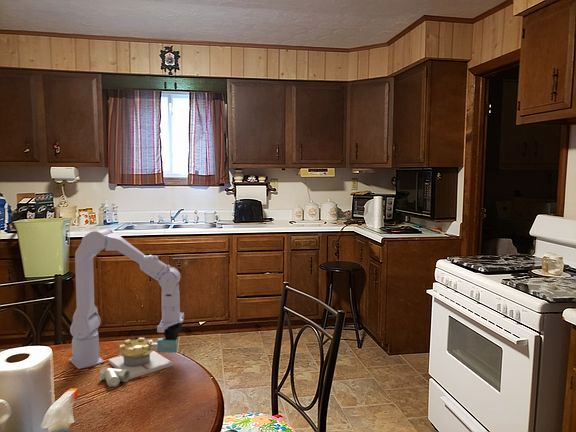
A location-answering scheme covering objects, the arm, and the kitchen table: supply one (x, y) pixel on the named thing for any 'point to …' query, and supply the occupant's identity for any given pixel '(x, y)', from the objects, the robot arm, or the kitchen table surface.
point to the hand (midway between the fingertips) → (171, 346)
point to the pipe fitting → (114, 376)
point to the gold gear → (147, 347)
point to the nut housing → (141, 364)
